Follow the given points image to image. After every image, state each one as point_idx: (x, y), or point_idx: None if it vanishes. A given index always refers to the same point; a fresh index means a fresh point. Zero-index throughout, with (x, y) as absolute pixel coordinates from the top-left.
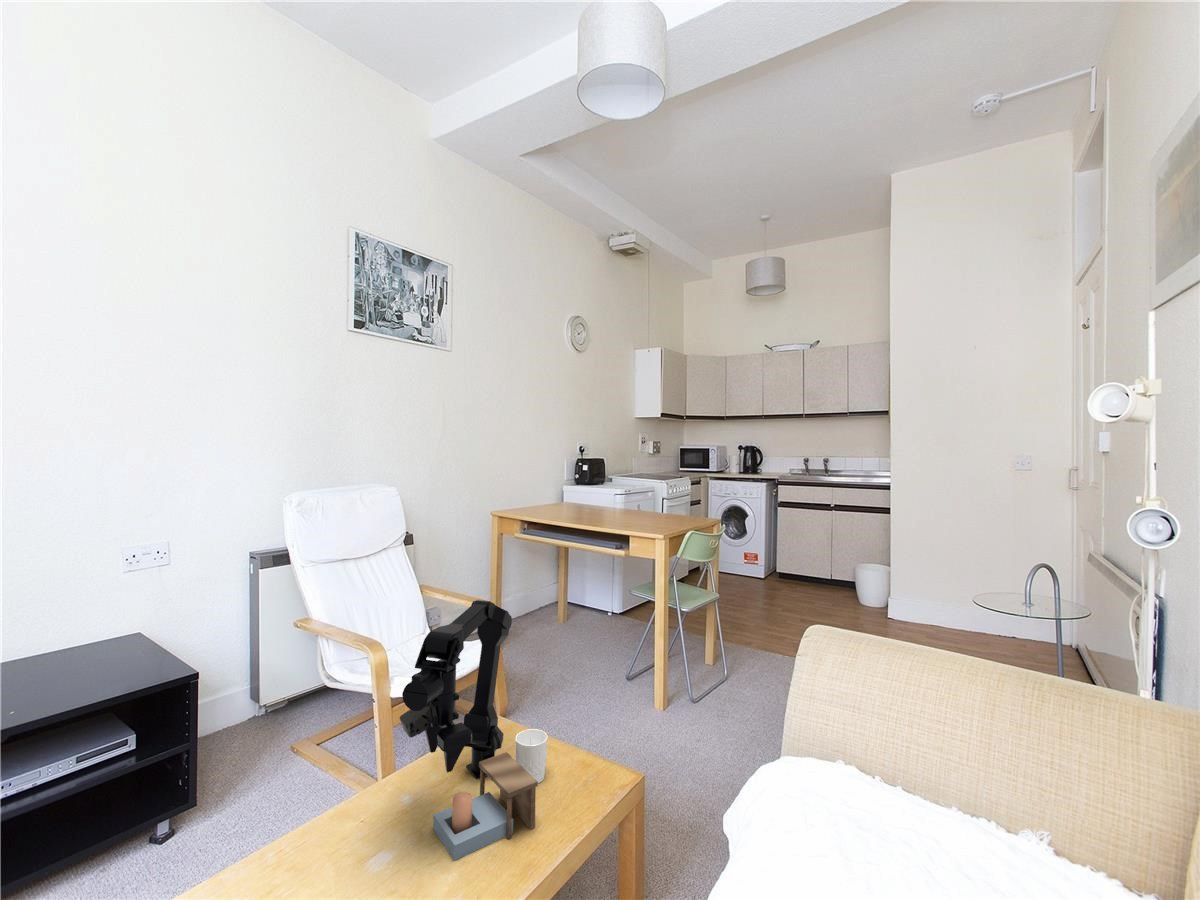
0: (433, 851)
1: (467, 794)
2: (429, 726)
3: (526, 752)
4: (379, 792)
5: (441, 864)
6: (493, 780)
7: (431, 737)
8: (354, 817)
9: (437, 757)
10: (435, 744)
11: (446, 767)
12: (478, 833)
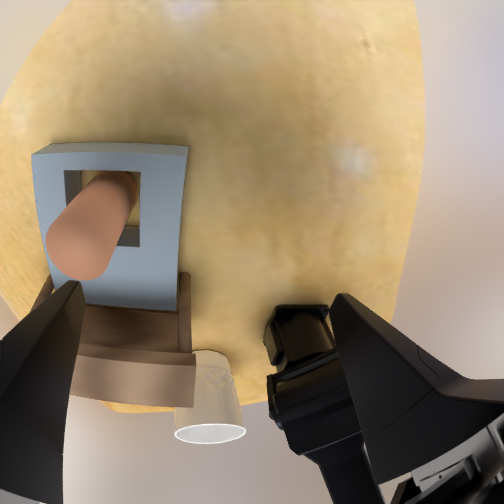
0: (107, 110)
1: (85, 271)
2: (430, 421)
3: (185, 413)
4: (417, 135)
5: (58, 113)
6: (90, 349)
7: (382, 365)
8: (389, 44)
9: (397, 278)
10: (344, 342)
11: (49, 299)
12: (41, 222)
